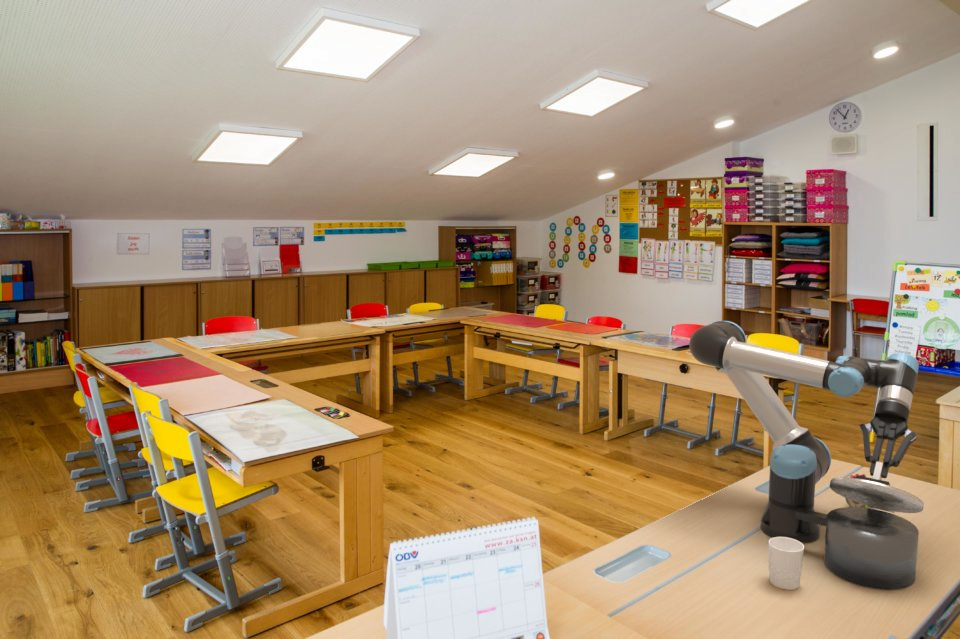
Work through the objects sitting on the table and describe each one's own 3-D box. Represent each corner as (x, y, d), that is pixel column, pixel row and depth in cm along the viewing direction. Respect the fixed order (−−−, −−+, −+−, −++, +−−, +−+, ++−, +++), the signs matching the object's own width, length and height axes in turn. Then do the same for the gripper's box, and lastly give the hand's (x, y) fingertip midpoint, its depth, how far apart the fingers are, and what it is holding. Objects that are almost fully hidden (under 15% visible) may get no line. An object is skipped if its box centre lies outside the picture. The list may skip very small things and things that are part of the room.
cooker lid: (821, 476, 176) (825, 459, 177) (838, 500, 191) (841, 485, 192) (918, 496, 163) (921, 478, 164) (927, 521, 178) (930, 504, 179)
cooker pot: (782, 562, 181) (785, 518, 180) (806, 535, 197) (808, 494, 195) (906, 598, 164) (910, 549, 162) (921, 565, 179) (925, 520, 177)
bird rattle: (862, 520, 211) (881, 503, 214) (853, 489, 207) (873, 473, 210) (843, 512, 216) (863, 496, 219) (834, 482, 213) (854, 466, 216)
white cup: (786, 594, 166) (788, 554, 165) (759, 579, 173) (761, 541, 172) (809, 586, 170) (811, 546, 169) (781, 571, 177) (783, 534, 176)
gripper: (923, 418, 183) (906, 500, 173) (867, 410, 192) (848, 488, 182) (921, 403, 179) (903, 486, 168) (863, 395, 187) (844, 474, 177)
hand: (875, 487), depth 175 cm, fingers closed
